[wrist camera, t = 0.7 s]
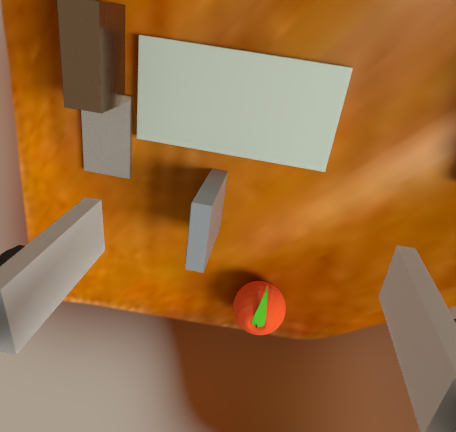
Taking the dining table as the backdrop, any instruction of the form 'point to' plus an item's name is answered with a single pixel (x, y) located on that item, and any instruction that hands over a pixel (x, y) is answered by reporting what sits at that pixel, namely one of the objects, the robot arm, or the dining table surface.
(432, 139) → the dining table surface
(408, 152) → the dining table surface
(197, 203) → the tile
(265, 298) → the clementine
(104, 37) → the brown grey long block
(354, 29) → the dining table surface
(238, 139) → the board
